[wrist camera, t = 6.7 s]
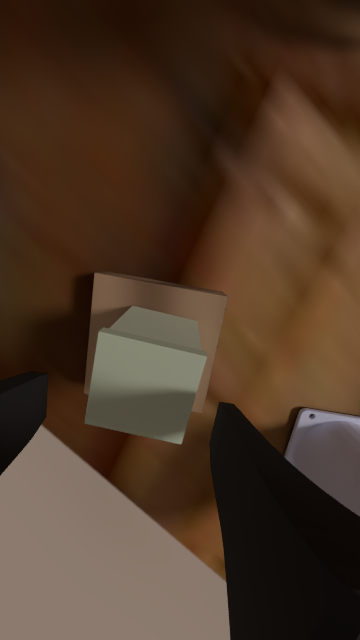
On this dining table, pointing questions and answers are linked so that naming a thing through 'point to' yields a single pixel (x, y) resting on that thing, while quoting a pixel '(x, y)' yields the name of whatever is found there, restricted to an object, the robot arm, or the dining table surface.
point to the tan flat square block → (169, 298)
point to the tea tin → (146, 375)
